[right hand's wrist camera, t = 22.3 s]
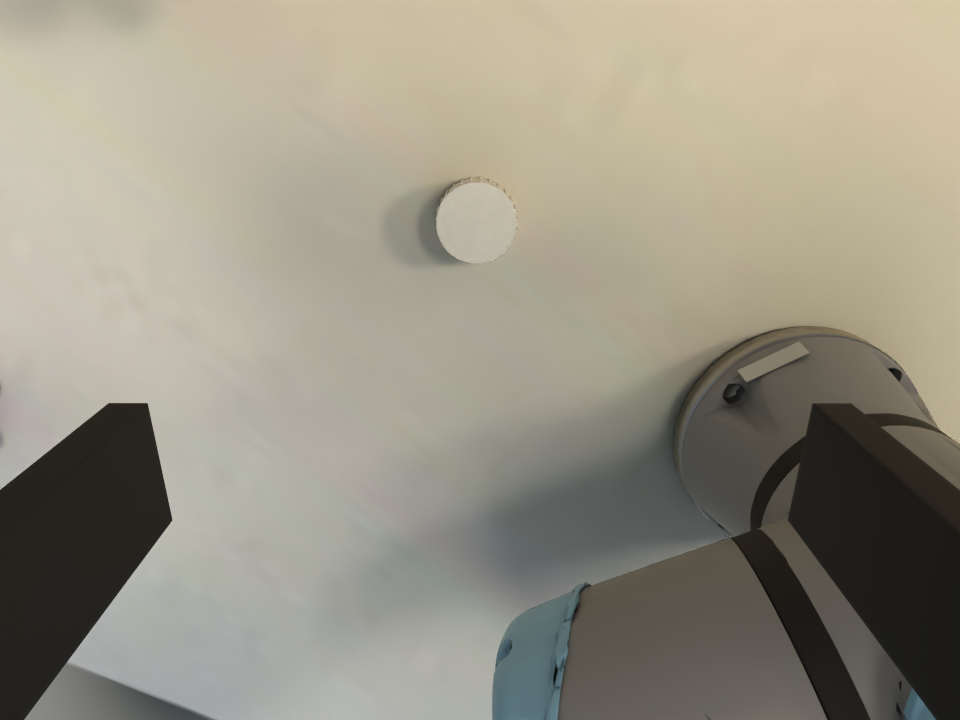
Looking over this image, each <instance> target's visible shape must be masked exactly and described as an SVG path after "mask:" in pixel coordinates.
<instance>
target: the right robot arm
mask: <svg viewBox="0 0 960 720" xmlns="http://www.w3.org/2000/svg"><path fill="white" fill-rule="evenodd" d="M674 458H675V464H676V467H677V471H678V474H679V476H680V478H681V481H682V483H683V484H684V486H685V488H686V490H687V492H688V494H689V496H690V497H691V499H692V501H693V502H694V504H695V505H696V506H697V508H698V509H699V510H700V511H701V512H702V514H703V515H704V516H705V517H706V518H708V519H709V520H710V521H711V522H712V523H713V524H715V525H716V526H717V527H719V528H720V529H722V530H723V531H725V532H726V533H728V534H729V535H731V536H733V537H732V538H727V539H724V540H721V541H718V542H715V543H713V544H710V545H707V546H704V547H701V548H698V549H695V550H693V551H690V552H687V553H684V554H681V555H678V556H675V557H672V558H670V559H667V560H664V561H661V562H658V563H655V564H652V565H650V566H647V567H644V568H641V569H638V570H635V571H632V572H630V573H627V574H624V575H621V576H618V577H615V578H612V579H610V580H607V581H604V582H601V583H598V584H595V585H592V586H591V585H590V584H588V583H586V582H585V583H582V584H579V585H578V586H576V587H575V588H574V589H573V591H572V592H570V593H567V594H565V595H563V596H560V597H558V598H555V599H553V600H550V601H548V602H545V603H543V604H541V605H538V606H536V607H533V608H531V609H528V610H527V611H525V612H523V613H521V614H520V615H519V616H517V617H516V618H515V619H514V620H513V621H512V623H511V624H510V625H509V627H508V628H507V630H506V632H505V634H504V636H503V638H502V641H501V643H500V646H499V650H498V654H497V659H496V667H495V672H494V679H493V697H492V720H960V444H959V443H957V442H956V441H954V440H953V439H951V438H950V437H949V436H947V435H946V434H944V433H943V432H942V431H940V430H939V429H938V427H937V425H936V423H935V422H934V420H933V418H932V416H931V415H930V413H929V411H928V409H927V407H926V406H925V404H924V402H923V401H922V399H921V397H920V396H919V394H918V392H917V390H916V388H915V387H914V385H913V383H912V382H911V380H910V379H909V377H908V376H907V374H906V373H905V372H904V370H903V369H902V368H901V367H900V366H899V365H898V364H897V363H896V362H895V361H894V360H893V359H892V358H891V357H890V356H888V355H887V354H886V353H884V352H882V351H881V350H879V349H878V348H876V347H874V346H873V345H871V344H870V343H868V342H866V341H865V340H863V339H861V338H859V337H857V336H855V335H852V334H850V333H847V332H844V331H840V330H836V329H832V328H825V327H809V326H808V327H794V328H787V329H782V330H778V331H773V332H770V333H767V334H764V335H761V336H758V337H756V338H754V339H751V340H749V341H747V342H745V343H743V344H741V345H740V346H738V347H736V348H735V349H733V350H731V351H730V352H728V353H727V354H725V355H724V356H723V357H722V358H720V359H719V360H718V361H717V362H715V363H714V364H713V365H712V366H711V367H710V368H709V369H708V370H707V371H706V372H705V373H704V374H703V375H702V376H701V377H700V379H699V380H698V381H697V383H696V384H695V385H694V387H693V388H692V390H691V391H690V393H689V394H688V396H687V398H686V400H685V402H684V404H683V406H682V408H681V411H680V413H679V416H678V419H677V423H676V427H675V433H674ZM171 521H172V516H171V512H170V507H169V502H168V497H167V493H166V488H165V483H164V479H163V474H162V469H161V464H160V460H159V455H158V450H157V446H156V441H155V436H154V431H153V427H152V422H151V417H150V413H149V408H148V403H108V404H107V405H106V406H105V407H103V408H102V409H101V410H100V411H98V412H97V413H96V414H95V415H93V416H92V417H91V418H90V419H88V420H87V421H86V422H85V423H83V424H82V425H81V426H80V427H78V428H77V429H76V430H75V431H73V432H72V433H71V434H70V435H68V436H67V437H66V438H65V439H63V440H62V441H61V442H60V443H58V444H57V445H56V446H55V447H53V448H52V449H51V450H50V451H48V452H47V453H46V454H45V455H43V456H42V457H41V458H40V459H38V460H37V461H36V462H35V463H33V464H32V465H31V466H30V467H28V468H27V469H26V470H25V471H23V472H22V473H21V474H20V475H18V476H17V477H16V478H15V479H13V480H12V481H11V482H10V483H8V484H7V485H6V486H5V487H3V488H2V489H1V490H0V720H24V719H25V717H26V716H27V715H28V714H29V712H30V711H31V710H32V708H33V707H34V705H35V704H36V703H37V701H38V700H39V699H40V697H41V696H42V695H43V693H44V692H45V691H46V689H47V688H48V687H49V685H50V684H51V683H52V681H53V680H54V679H55V677H56V676H57V675H58V673H59V672H60V671H61V669H62V668H63V667H64V665H65V664H66V662H67V661H68V660H69V658H70V657H71V656H72V654H73V653H74V652H75V650H76V649H77V648H78V646H79V645H80V644H81V642H82V641H83V640H84V638H85V637H86V636H87V634H88V633H89V632H90V630H91V629H92V628H93V626H94V625H95V623H96V622H97V621H98V619H99V618H100V617H101V615H102V614H103V613H104V611H105V610H106V609H107V607H108V606H109V605H110V603H111V602H112V601H113V599H114V598H115V597H116V595H117V594H118V593H119V591H120V590H121V589H122V587H123V586H124V585H125V583H126V582H127V580H128V579H129V578H130V576H131V575H132V574H133V572H134V571H135V570H136V568H137V567H138V566H139V564H140V563H141V562H142V560H143V559H144V558H145V556H146V555H147V554H148V552H149V551H150V550H151V548H152V547H153V546H154V544H155V543H156V542H157V540H158V539H159V537H160V536H161V535H162V533H163V532H164V531H165V529H166V528H167V527H168V525H169V524H170V523H171Z"/></svg>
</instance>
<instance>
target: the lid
mask: <svg viewBox="0 0 960 720" xmlns="http://www.w3.org/2000/svg"><path fill="white" fill-rule="evenodd" d="M512 202H513V201H512V198H511V196H510V197H509V195H508V194H507V192H506V189H503V188H502V187H501V186H499V183H497V184H496V183H495V182H493V181H491V179H489V180H487V179H483V178H482V177H480V178H472V177H470V179H466V180H463V179H462V180H461V182H458V183H457V184H455V183H454V184H453V186H452V187H451V188H450V189H449V190H448V189H447V190H446V193H445V196H444V197H442V198H441V200H440V203H441V204H440V206H438V208H437V211H436V212H437V216H436V219H435V222H436V231H437V234H438V237H439V240H440V242H441V244H442V245H443V247H444V248H445V249H446V250H447V252H449V253H450V254H451V255H452V256H453V257H455V258H457V259H458V260H461V261H463V262H466V263H472V264H481V263H487V262H490V261H492V260H495V259H496V258H498V257H500V256H501V255H502V254H503V253H504V252H505V251H506V250H507V249H508V248H509V247H510V245H511V243H512V242H513V239H514V238H515V233H516V230H517V221H518V218H517V215H516V213H515V211H516V208H515V205H513V204H512Z"/></svg>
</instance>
